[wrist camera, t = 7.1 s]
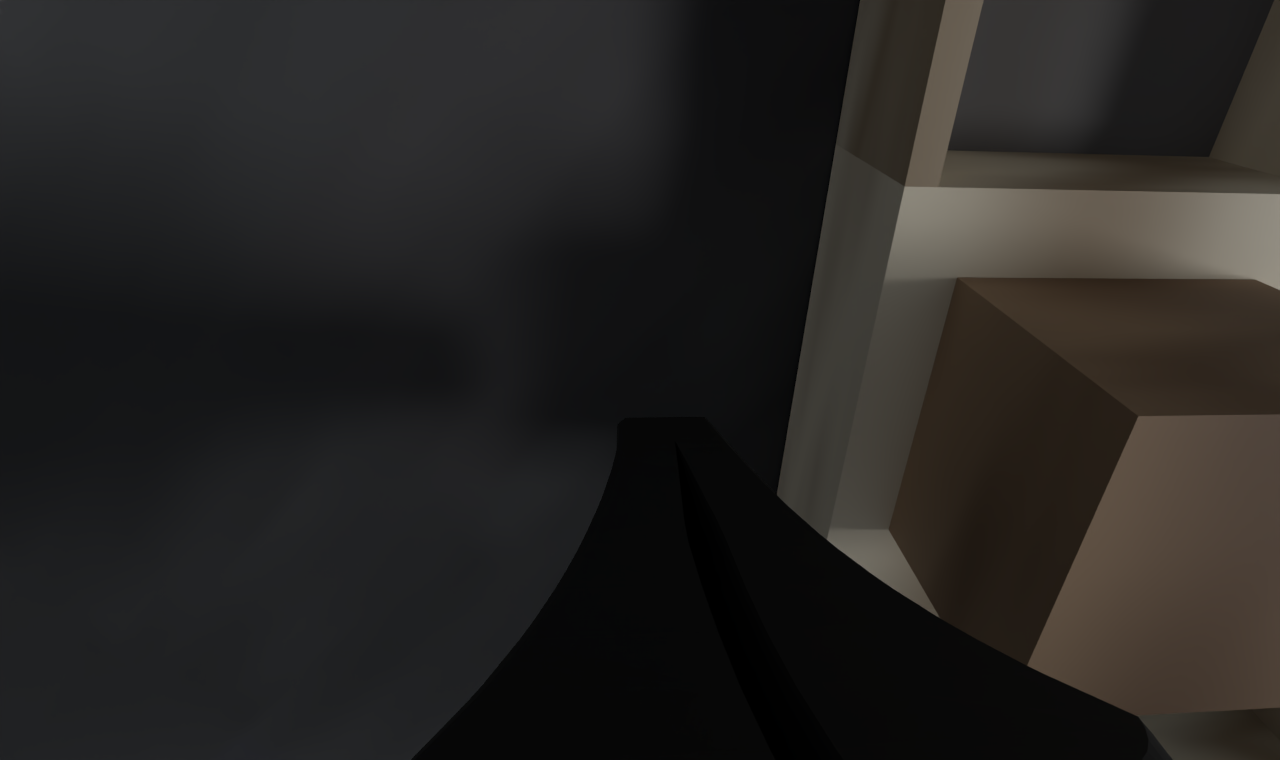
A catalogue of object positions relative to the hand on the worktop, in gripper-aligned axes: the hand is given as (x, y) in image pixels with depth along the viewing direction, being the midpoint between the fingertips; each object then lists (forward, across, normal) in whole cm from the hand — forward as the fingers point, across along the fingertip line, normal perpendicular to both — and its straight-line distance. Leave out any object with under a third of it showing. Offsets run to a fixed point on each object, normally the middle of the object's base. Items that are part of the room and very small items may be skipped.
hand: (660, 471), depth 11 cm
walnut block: (+1, -7, 0) cm, 7 cm away
